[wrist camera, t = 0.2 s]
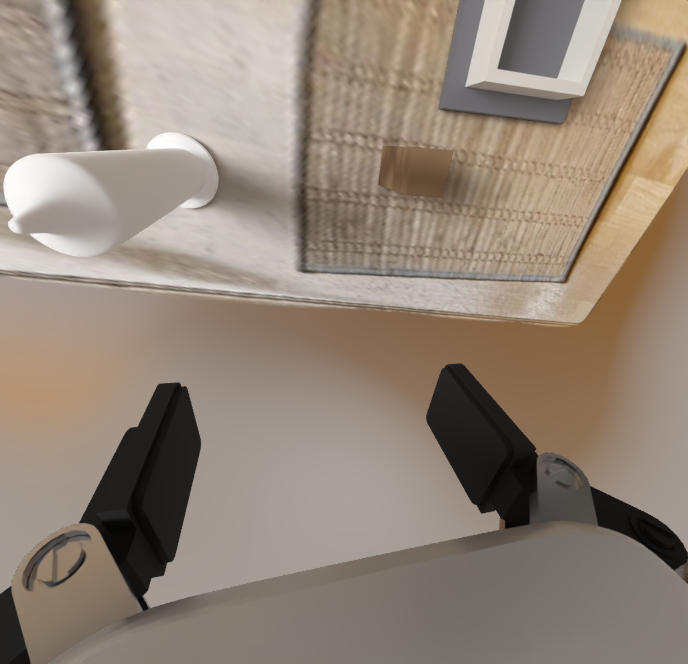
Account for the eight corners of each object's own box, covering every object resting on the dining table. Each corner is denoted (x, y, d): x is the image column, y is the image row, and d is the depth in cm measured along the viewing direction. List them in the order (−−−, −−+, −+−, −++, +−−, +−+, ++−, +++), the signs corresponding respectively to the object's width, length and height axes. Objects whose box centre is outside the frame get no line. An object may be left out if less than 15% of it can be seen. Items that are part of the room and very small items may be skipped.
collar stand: (484, -129, 25) (524, -180, 21) (631, -82, 28) (689, -118, 24) (438, 108, 33) (460, 104, 29) (555, 123, 36) (589, 121, 32)
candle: (233, 181, 33) (166, 245, 12) (187, 220, 34) (56, 340, 13) (178, 115, 29) (-53, 47, 8) (129, 162, 30) (-181, 205, 9)
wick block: (383, 146, 34) (413, 146, 26) (414, 149, 35) (453, 150, 27) (378, 184, 36) (405, 195, 29) (408, 186, 37) (442, 197, 29)
